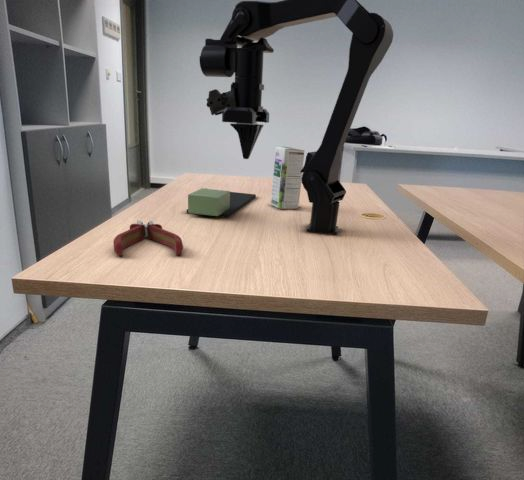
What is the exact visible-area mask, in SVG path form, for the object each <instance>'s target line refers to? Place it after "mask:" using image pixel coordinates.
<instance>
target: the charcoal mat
mask: <svg viewBox="0 0 524 480" xmlns="http://www.w3.org/2000/svg"><path fill="white" fill-rule="evenodd" d="M256 197H257V194H255V193H245V192H235V191H230V208H229V209H228V210H226V211H225V212H223V213H222V214H220V215H219V216H215V217H216V218H224V219H225V218H227V219H228V218H230V217H232V215H234V214H235V213H237V212H238V211H239V210H241V209H242V208H243V207H245V206H246V205H247V204H249V203H250V202H251V201H253V200H254V199H256ZM186 214H189V215H195V214H194V213H188V208H187V209H186ZM197 215H199V216H204V215H203V214H197ZM206 216H207V217H213V216H212V215H206Z"/></svg>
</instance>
